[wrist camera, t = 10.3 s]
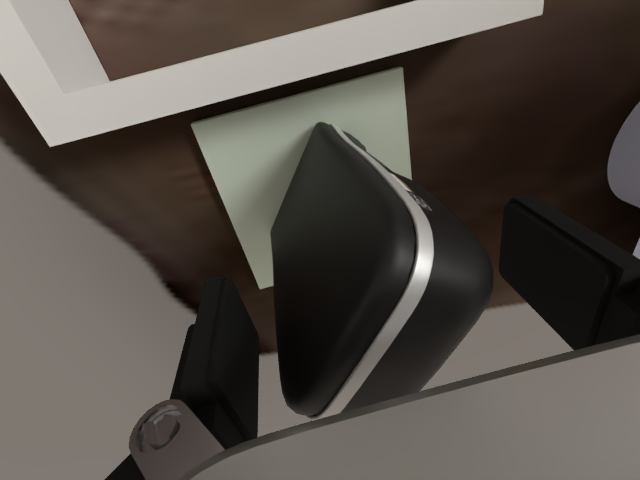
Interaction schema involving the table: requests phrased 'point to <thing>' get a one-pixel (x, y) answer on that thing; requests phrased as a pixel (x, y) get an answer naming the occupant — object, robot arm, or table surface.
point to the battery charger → (367, 280)
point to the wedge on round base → (627, 163)
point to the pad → (296, 149)
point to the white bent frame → (207, 61)
